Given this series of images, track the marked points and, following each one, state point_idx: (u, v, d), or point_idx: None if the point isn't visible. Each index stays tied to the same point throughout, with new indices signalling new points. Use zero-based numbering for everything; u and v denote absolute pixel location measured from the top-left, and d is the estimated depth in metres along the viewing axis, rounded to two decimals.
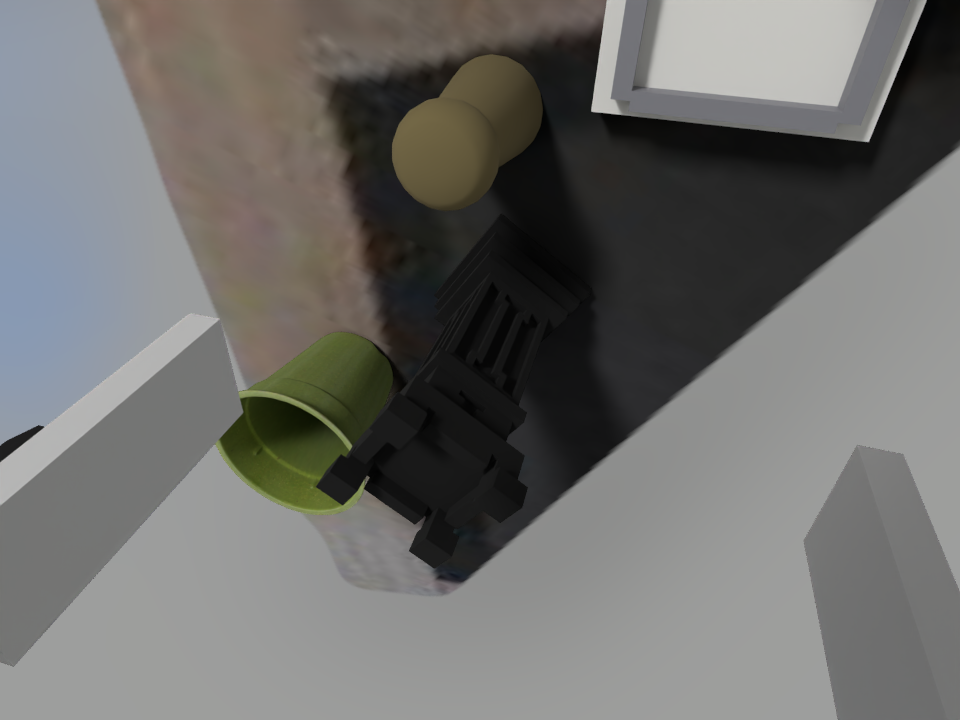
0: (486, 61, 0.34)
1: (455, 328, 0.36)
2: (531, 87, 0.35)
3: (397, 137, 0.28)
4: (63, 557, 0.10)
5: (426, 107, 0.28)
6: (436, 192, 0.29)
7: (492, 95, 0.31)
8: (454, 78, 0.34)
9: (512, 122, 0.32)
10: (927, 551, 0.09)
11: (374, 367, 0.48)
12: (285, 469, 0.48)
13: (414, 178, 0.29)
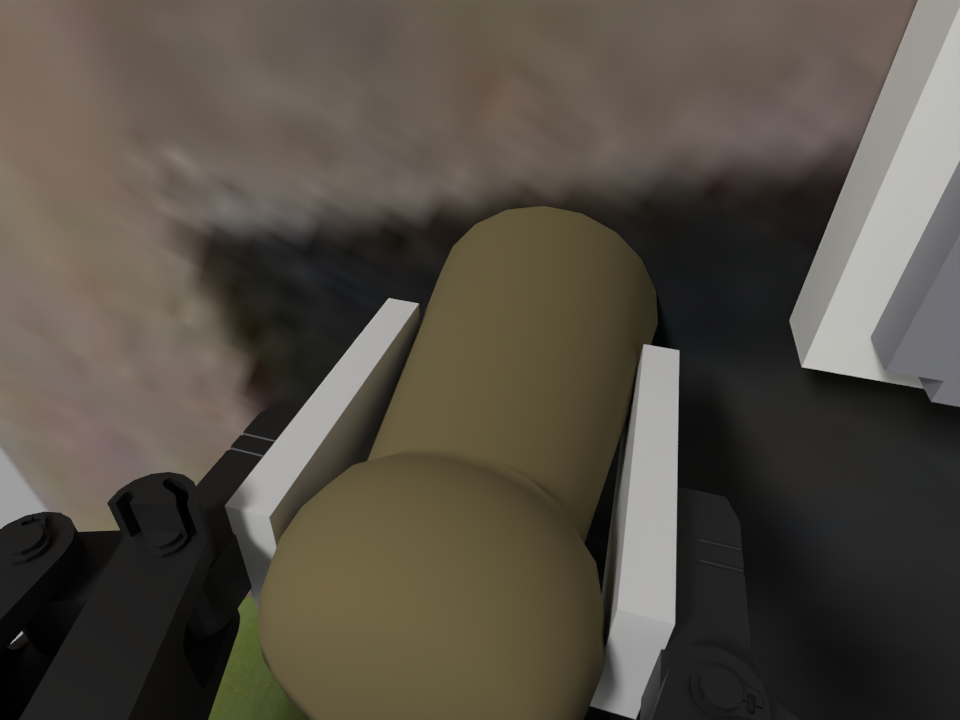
0: (536, 233, 0.14)
1: None
2: (641, 289, 0.15)
3: (265, 615, 0.08)
4: None
5: (359, 548, 0.08)
6: None
7: (566, 374, 0.11)
8: (458, 279, 0.14)
9: (615, 424, 0.12)
10: (665, 412, 0.11)
11: None
12: None
13: None
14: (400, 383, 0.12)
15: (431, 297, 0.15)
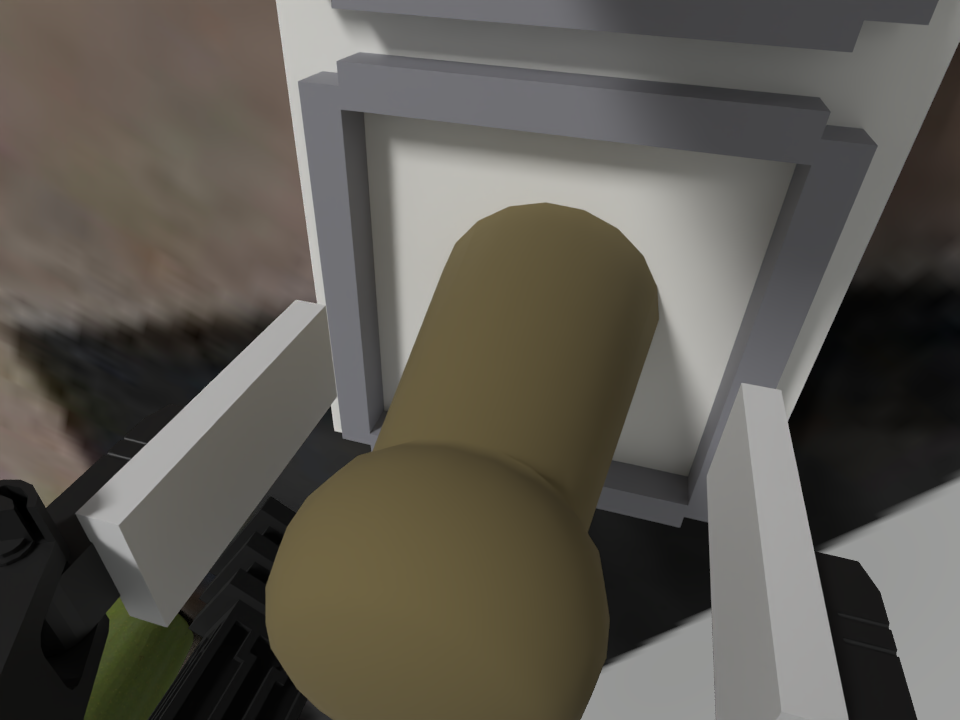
0: (538, 229, 0.14)
1: None
2: (642, 285, 0.15)
3: (272, 603, 0.08)
4: (206, 526, 0.11)
5: (366, 535, 0.08)
6: None
7: (569, 367, 0.11)
8: (461, 274, 0.14)
9: (617, 417, 0.12)
10: (782, 464, 0.10)
11: (149, 641, 0.36)
12: None
13: (335, 713, 0.09)
14: (404, 376, 0.12)
15: (434, 293, 0.16)
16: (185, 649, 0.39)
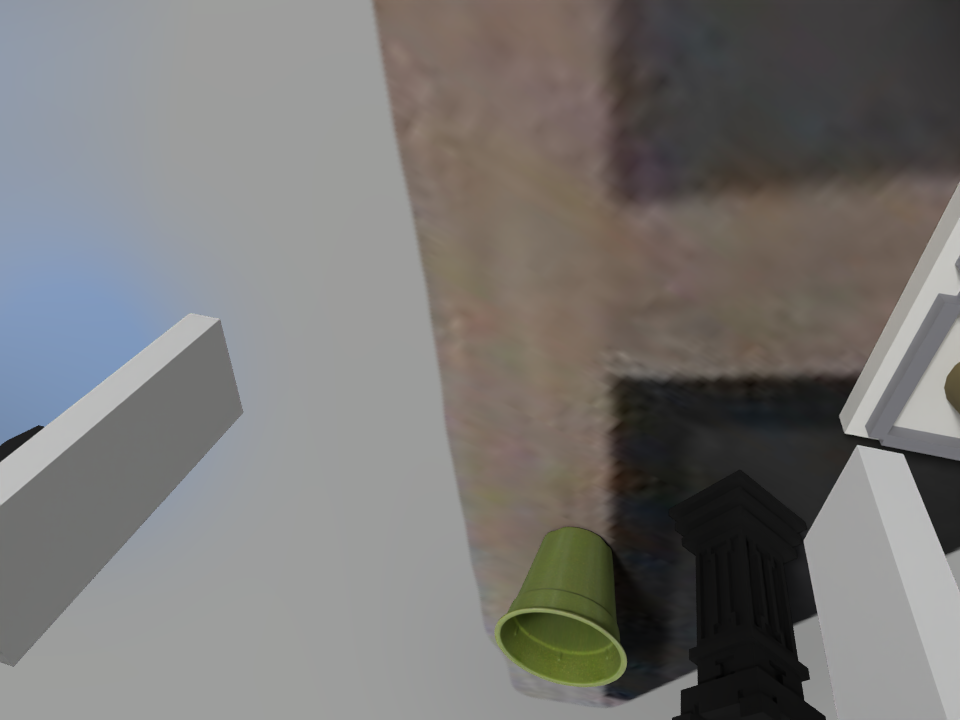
0: None
1: (729, 582, 0.47)
2: None
3: None
4: (63, 557, 0.10)
5: None
6: None
7: None
8: None
9: None
10: (927, 551, 0.09)
11: (608, 562, 0.59)
12: (534, 642, 0.60)
13: None
14: None
15: None
16: None
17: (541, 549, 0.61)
